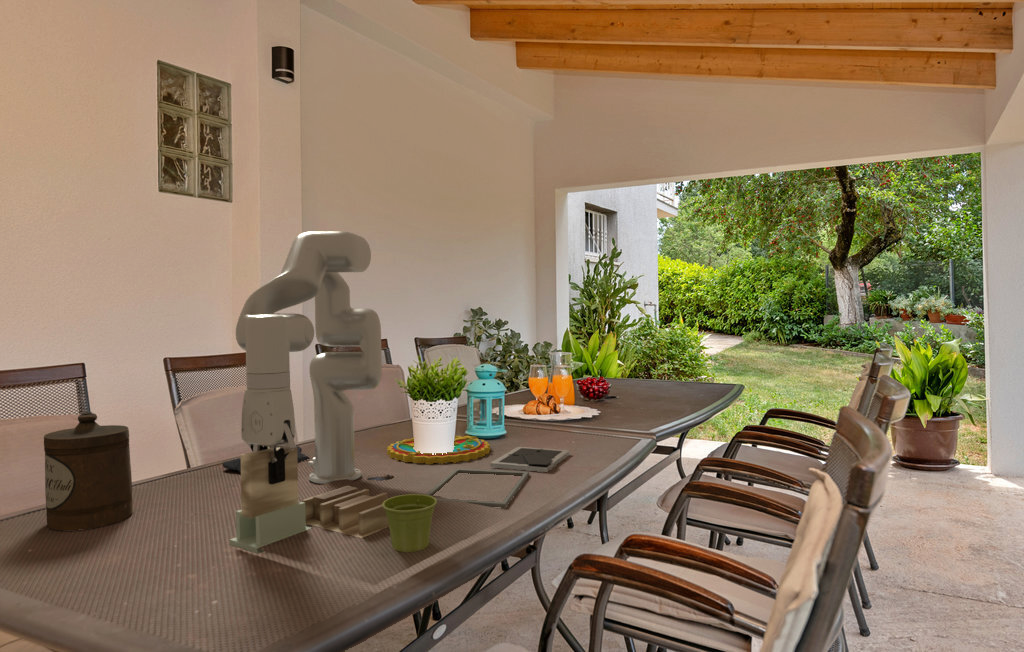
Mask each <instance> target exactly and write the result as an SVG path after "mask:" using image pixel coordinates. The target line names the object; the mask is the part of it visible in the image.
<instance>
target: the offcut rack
mask: <svg viewBox="0 0 1024 652" xmlns="http://www.w3.org/2000/svg"><path fill="white" fill-rule="evenodd" d="M346 486H347V485H344V486H342V487H340V488H343V487H346ZM340 488H336V489H332V490H330V491H333V490H337V489H340ZM330 491H327V492H330ZM327 492H324V493H327ZM324 493H323V492H322V493H321V494H324ZM321 494H317V495H313V496H310V497H307V498H304V499H301V502H305V517H306V525H307V526H308V525H309V526H314V527H316V528H321V529H324V530H328V531H332V532H336V533H340V534H344V535H348V536H351V537H355V538H359V539H363V538H365V537H367V536H370V535H372V534H375V533H377V532H380V531H382V530H384V529H387V528H389V523H388V517H387V515H386V512H385V509H384V508H383V506H382V504H383V502H384V501H385V500H387V499H388V493H387V492H382V493H379V494H376V495H373V496H371V497H370V498H367V499H364V500H362V501H359V502H356V503H353V504H350V505H347V506H344V507H342V508H339V524H335V523H334V505H336V504H339V503H342V502H345V501H348V500H351V499H354V498H357V497H359V496H362V495H366V496H370V490H369V489H367V488H365V489H362V490H358V492H355V493H352V494H349V495H346V496H343V497H340V498H337V499H334V500H331V501H328V502H325V503H322V504H320V521H318V520H314V502H313V497H314V496H318V495H321Z"/></svg>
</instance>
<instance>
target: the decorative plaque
mask: <svg viewBox="0 0 1024 652" xmlns="http://www.w3.org/2000/svg"><path fill="white" fill-rule="evenodd" d="M454 436H455V441H454V446H455V447H454V450H453V452H447V454H446V453H443V455H442V453H436V455H435V453H434V455H432V453H423V454H421V453H420V451H418V452H416V451H415V450H414V449H413V447H414V438H415V437H412V438H406V439H403V440H400V441H395V443H390V445H388V446H387V448H386V455H390V456H389V459H390V458H396V459H395V461H396V460H403V461H404V462H413V464H414V463H422V464H423V463H425V465H433V463H441V464H440V465H444V464H443V463H445V464H447V463H446V462H453V463H452V464H457V463H460V462H459V461H467V462H470V461H471V460H470V459H473V460H479V458H484V457H483V456H486V455H490V452H491V444H490V443H489V441H486V440H485V439H479V438H478V437H477V436H470V435H464V436H461V435H454ZM485 454H486V455H485ZM478 457H479V458H478ZM403 461H402V462H403ZM404 462H403V463H404ZM456 462H457V463H456Z"/></svg>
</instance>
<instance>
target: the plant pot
mask: <svg viewBox="0 0 1024 652" xmlns="http://www.w3.org/2000/svg"><path fill="white" fill-rule="evenodd" d="M436 498H437V497H435V496H430V495H429V496H428V495H425V494H420V493H419V494H418V493H412V494H411V493H410V494H402V495H395V496H392V497H389V498H387V500H385V501H384V502H383V504H382V506H383V508H384V509H385V512H386V515H387V517H388V523H389V527H388V528H389V535H390V540H391V547H392V549H393V550H395V551H397V552H403V553H414V552H417V551H421V550H424V549H426V548H427V547H428V546H429V543H430V533H431V528H432V519H433V513H434V512H435V506H436V505H437V503H438V500H436Z"/></svg>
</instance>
